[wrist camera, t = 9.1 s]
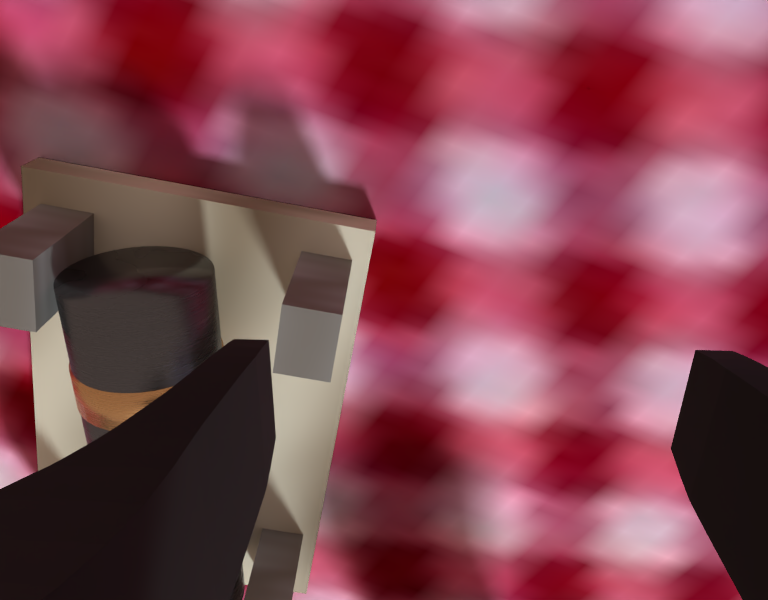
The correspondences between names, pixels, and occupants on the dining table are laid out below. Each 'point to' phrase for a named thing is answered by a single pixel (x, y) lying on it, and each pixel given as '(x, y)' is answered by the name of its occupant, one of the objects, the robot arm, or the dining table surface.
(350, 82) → the dining table surface
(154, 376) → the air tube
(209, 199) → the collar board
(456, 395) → the dining table surface
